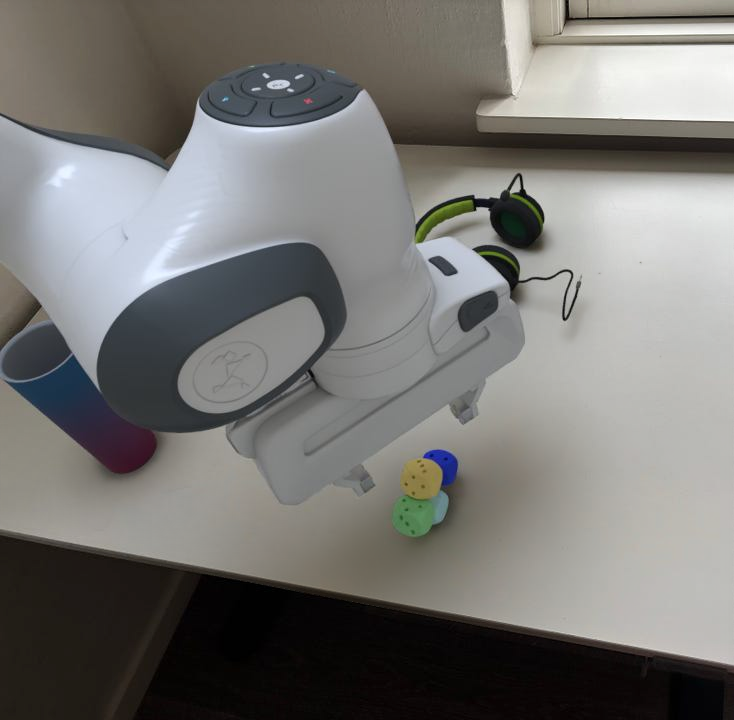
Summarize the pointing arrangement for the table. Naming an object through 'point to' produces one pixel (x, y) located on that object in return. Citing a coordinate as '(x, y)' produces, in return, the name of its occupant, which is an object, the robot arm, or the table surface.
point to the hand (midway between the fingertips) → (415, 449)
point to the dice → (424, 492)
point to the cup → (72, 398)
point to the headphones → (500, 230)
